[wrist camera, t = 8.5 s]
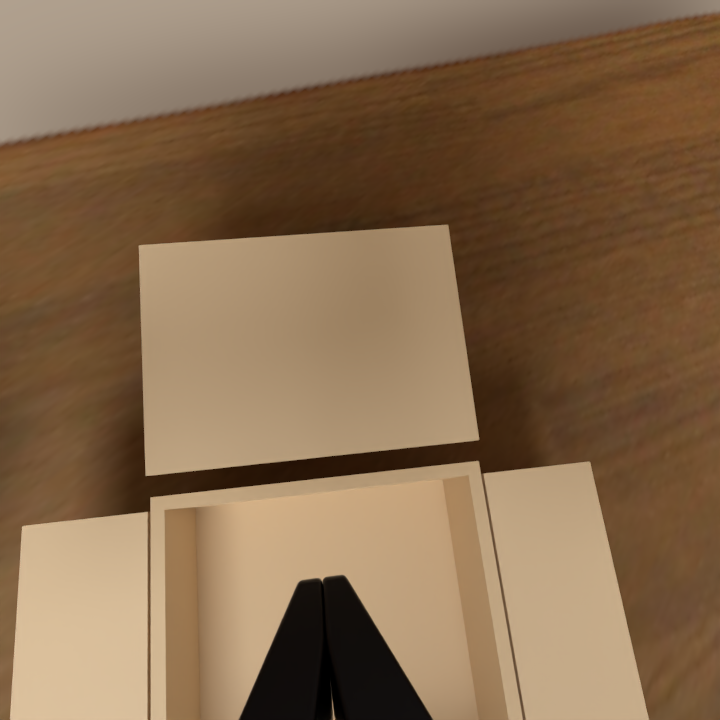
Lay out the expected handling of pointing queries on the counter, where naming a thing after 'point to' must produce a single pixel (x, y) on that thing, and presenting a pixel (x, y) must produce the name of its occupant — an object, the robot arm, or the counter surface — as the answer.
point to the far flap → (301, 348)
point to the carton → (319, 560)
